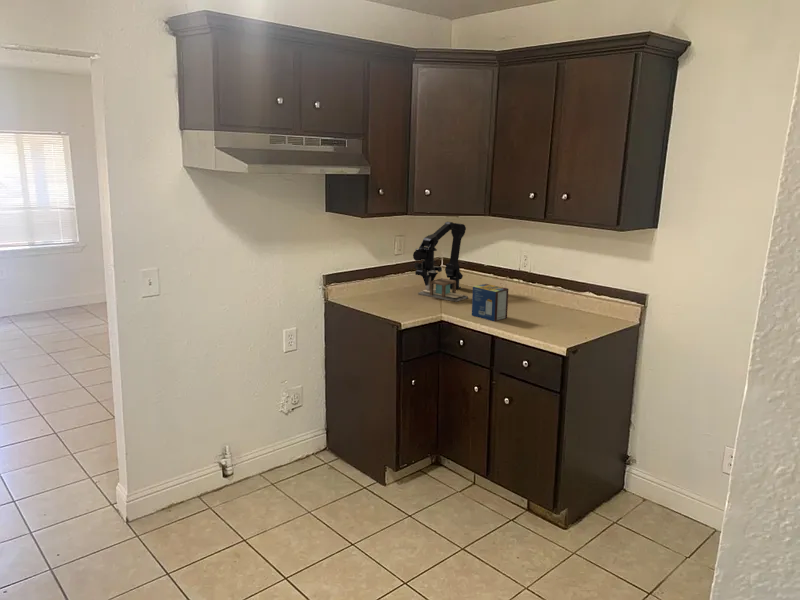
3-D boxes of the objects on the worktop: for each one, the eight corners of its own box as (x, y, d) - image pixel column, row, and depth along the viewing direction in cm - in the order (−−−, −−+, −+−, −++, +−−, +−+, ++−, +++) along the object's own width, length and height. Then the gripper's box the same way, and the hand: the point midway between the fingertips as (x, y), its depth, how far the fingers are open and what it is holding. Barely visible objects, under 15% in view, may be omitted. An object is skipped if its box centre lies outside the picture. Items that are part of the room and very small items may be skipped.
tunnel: (430, 290, 375) (430, 276, 373) (467, 297, 359) (468, 282, 356) (417, 294, 366) (418, 279, 364) (456, 301, 349) (456, 286, 347)
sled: (430, 289, 372) (430, 275, 370) (463, 295, 358) (464, 281, 356) (422, 291, 366) (422, 277, 364) (456, 298, 352) (456, 283, 349)
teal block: (441, 291, 366) (441, 282, 365) (450, 292, 362) (450, 284, 361) (435, 292, 361) (435, 284, 360) (444, 294, 358) (444, 285, 356)
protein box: (484, 312, 328) (485, 283, 325) (507, 318, 317) (509, 288, 314) (470, 315, 322) (472, 286, 318) (494, 321, 311) (495, 291, 307)
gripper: (427, 255, 376) (426, 280, 379) (408, 259, 362) (407, 285, 365) (442, 257, 369) (441, 283, 373) (423, 261, 355) (423, 288, 359)
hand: (428, 285), depth 367 cm, fingers open, 4 cm apart
